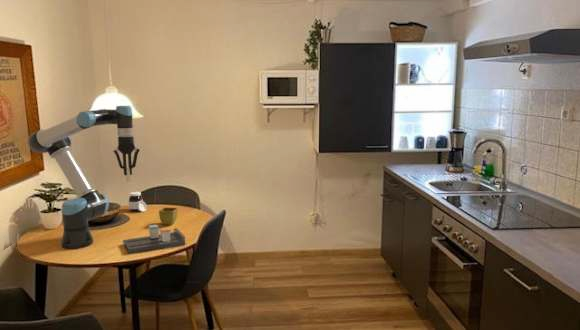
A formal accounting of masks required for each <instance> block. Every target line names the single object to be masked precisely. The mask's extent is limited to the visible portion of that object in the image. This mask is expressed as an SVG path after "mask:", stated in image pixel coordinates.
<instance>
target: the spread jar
mask: <svg viewBox="0 0 580 330" xmlns="http://www.w3.org/2000/svg"><path fill="white" fill-rule="evenodd" d="M128 208H129V211H131V212H141V213H143V212H146V211H147V208H148V207H147V203H146V202H145V201H143V196H142V193H141V191H133V192H130V193H129V198H128Z"/></svg>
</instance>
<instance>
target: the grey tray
mask: <svg viewBox="0 0 580 330" xmlns="http://www.w3.org/2000/svg"><path fill="white" fill-rule="evenodd" d="M122 242H123V244H122V245H123V246H124V248H125V250H126V251H127V254H128V255H133V254H137V253H144V252H150V251H156V250H162V249H167V248H168V249H169V248H175V247H181V246H185V245H186V236H185V235H184V233H182V232H181V231H180V230H179V229H178V228H177V227H175V228H173V232H170V241H165V242H162V241H161V234H160V233H159V238H152V239H151V238H150V235H148V236H140V237H134V238H128V239H123V240H122Z"/></svg>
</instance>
